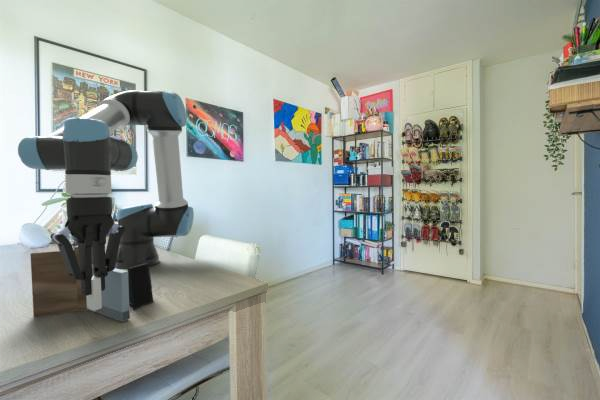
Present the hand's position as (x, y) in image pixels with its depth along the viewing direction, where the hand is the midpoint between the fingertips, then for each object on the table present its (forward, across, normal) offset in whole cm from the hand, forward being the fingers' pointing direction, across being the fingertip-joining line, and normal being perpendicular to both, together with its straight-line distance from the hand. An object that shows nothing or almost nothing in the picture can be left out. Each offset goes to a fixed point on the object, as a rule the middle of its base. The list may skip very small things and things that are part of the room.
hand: (94, 308), depth 58 cm
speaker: (+5, +13, +6) cm, 15 cm away
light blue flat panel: (+5, +5, +5) cm, 8 cm away
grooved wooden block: (+5, +2, +17) cm, 17 cm away
